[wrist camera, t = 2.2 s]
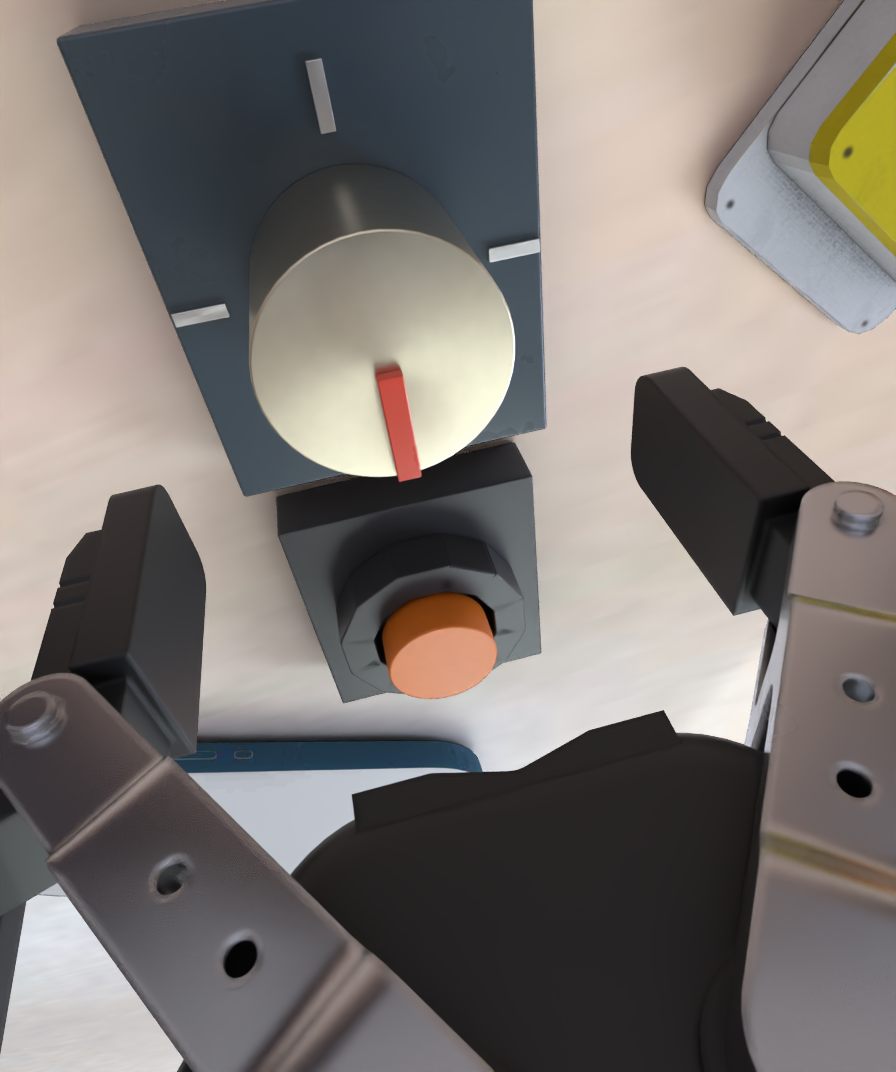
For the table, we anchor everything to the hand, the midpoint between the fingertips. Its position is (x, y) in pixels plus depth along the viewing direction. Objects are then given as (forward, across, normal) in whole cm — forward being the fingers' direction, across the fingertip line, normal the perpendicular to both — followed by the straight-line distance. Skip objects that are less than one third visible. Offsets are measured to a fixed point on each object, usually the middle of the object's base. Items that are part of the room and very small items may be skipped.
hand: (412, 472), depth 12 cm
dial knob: (+9, 0, 0) cm, 9 cm away
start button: (+8, 0, +13) cm, 15 cm away
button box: (+11, 0, +13) cm, 17 cm away
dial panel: (+11, 0, 0) cm, 11 cm away
